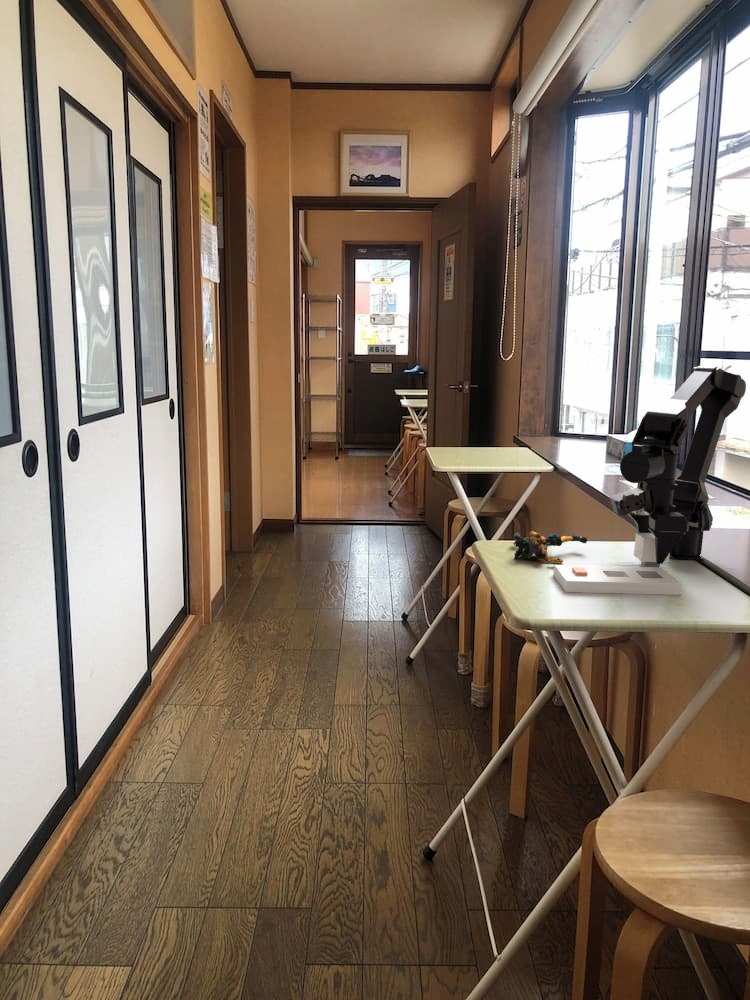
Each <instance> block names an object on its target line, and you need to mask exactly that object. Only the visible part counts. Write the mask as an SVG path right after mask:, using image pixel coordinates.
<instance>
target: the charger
mask: <svg viewBox="0 0 750 1000" xmlns="http://www.w3.org/2000/svg"><path fill="white" fill-rule="evenodd" d="M633 555H634V557H635V558H636V559H638V560H639V561H640V562H641V563H640V567H661V564H657V563H656V551H655V536H654V535H653V534H652V533H638V532H635V540H634V550H633ZM669 562H670V553H669V555H668V556H667V558H666V559H665V561H664V562H663V563H669Z"/></svg>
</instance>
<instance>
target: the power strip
mask: <svg viewBox="0 0 750 1000" xmlns="http://www.w3.org/2000/svg"><path fill="white" fill-rule="evenodd" d="M552 572H553V577H554V578H555V579H556V581H557V583H559V585H560V587H562V589H563V590H564V592H565V593H588V594H589V593H591V594H592V593H593V594H595V593H596V594H628V595H630V594H631V595H633V594H635V595H662V596H663V595H664V596H665V595H669V596H674V595H675V596H681V595H682V582H680V581H679V580H678V579H677V578H675V576H673V575H672V574H671V573H669V572H668V571H667V570H666V569H665V568H663V567H661V566H660V567H641V566H624V565H623V566H621V565H619V566H617V565H587V564H586V565H585V564H583V565H579V564H574V565H573V564H554V565H553V571H552Z"/></svg>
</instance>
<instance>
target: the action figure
mask: <svg viewBox="0 0 750 1000" xmlns="http://www.w3.org/2000/svg"><path fill="white" fill-rule="evenodd" d="M528 535H529V536H526V537H522V536H521V534H520V533H519V532H515V534H513V535H512V538H513V539H514V540H515V541H513V543H512V544H513V546H515V548H517V549H516V550H515V552H514V554H513V555H514V559H513V560H514V561H518V560H519V558H520V557H522V559H525V558H527V559H530V558H531V557H532V556H535V557H536V559H537V560H538V561H540V562H542V563H545V564H549V563H550V564H557V565H562V563H563V562H564V560H563V559H562V558H560V557H557V558H554V557H549V554H548V547H551V546H553V547H561V546H562V544H563V543H567V542H569V541H570V542H575V541H576V542H580V543H582V544H587V542H588V537H587V536H585V535H583V536H582V535H574V534H573V535H571V536H570V535H569V536H568V535H566V536H565V535H563V536H558V535H557V534H556V533H552V534H551V535H548V537H546V538H545V537H544V536H543V535H542V534H540V533H538V532H535V531H533V530H531V531H530V532H529V533H528ZM518 557H519V558H518ZM517 559H518V560H517Z"/></svg>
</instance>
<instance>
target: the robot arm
mask: <svg viewBox="0 0 750 1000" xmlns="http://www.w3.org/2000/svg"><path fill="white" fill-rule="evenodd" d="M746 391H747V382H746V381H745V380H744V379H743V378H742V376H741V375H740V374H736V373H731V372H728V371H726V370H723V369H722V368H721V367H720V368H719V367H718V366H707V365H704V366H703V365H698V366H694V367H693V368H692V370H691V373H690V375H689V376H688V378H687V379H686V380H685V381H684V382H683V383H682V385H681V386H680V387H678V389H677V390H676V391H675V392H674V394H673V395H672V396H671V397H670V398H669V399H668V400H667V401H665V402H661V403H658V404H655V405H654V406H653V407H651V408H650V409H648V411H646V413H645V414H644V415H643V416H642V419H641V421H640V423H639V426H638V428H637V429H636V432H635V435H634V437H633V440H632V441H631V451H629V452H627V453H626V454H625V455H623V457H622V459H621V461H620V462H619V470H620V474H621V475H622V477H623V478H624V479H625V480H626V481H627V482H630V483H632V484H637V487H635V488H633V489H627V490H625V491H621V492H618V493H615V494H612V495H610V496H609V500H610V503H611V507H612V510H613V512H614V514H617V516H619V517H622V516H627V515H628V516H629V517H630V518H631V519H632V520H633V521H634V523H635V527H636V533H652V534H653V535H654V536H655V551H656V563H657V564H660V565H662V564H664V563H665V562H664V561H665V559H666V558H667V556H668V555H669V553H670V556H669V558H671V559H673V560H674V559H676V560H702V559H701V557H700V556H699V555H700V554H701V555H702V548H703V539H704V532H709V531H711V528H712V526H713V520H714V517H713V514H712V512H711V509H710V508H709V504H708V503H709V500H710V499H709V498H710V497H709V494H708V491H707V487H706V484H705V483H706V481H707V477H708V474H709V471H710V468H711V464H712V460H713V459H714V455H715V451H716V448H717V446H718V442H719V439H720V435H721V433H722V429H723V426H724V423H725V420H726V418H728V417H729V416H730V415H731V414H733V412H734V411H736V410H737V409H738V408H739V405H740V403H741V400H742V398H743V397H745V394H746ZM699 406H700V409H701V411H700V413H699V414H700V415H699V418H698V421H697V423H696V427H695V429H694V432H693V436H692V439H691V442H690V445H689V449H688V451H687V455H686V457H685V460H684V463H683V466H682V468H681V469H682V470H681V473H680V475H679V476H677V478H676V473H677V467H678V466H677V465H678V455H679V454H678V453H681V452H682V447H681V444H682V442H683V440H684V438H685V437H686V435H688V434H687V433H688V432H689V430H690V425H689V424H690V423H689V419H690V417H691V416H692V414H693V413H695V411H697V409H698V408H699Z"/></svg>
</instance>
